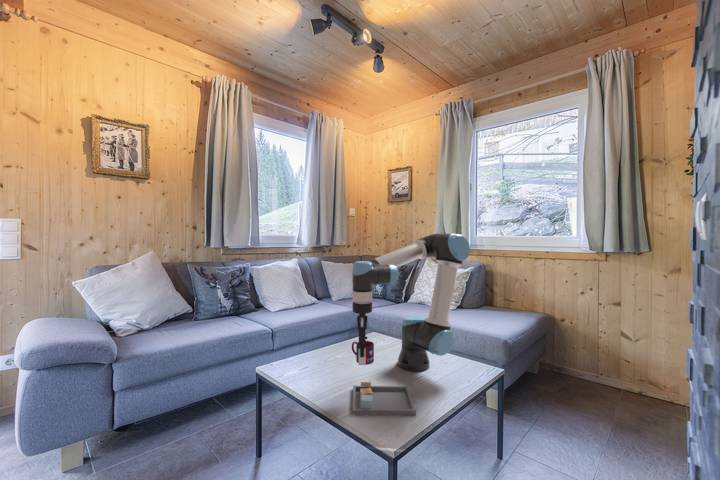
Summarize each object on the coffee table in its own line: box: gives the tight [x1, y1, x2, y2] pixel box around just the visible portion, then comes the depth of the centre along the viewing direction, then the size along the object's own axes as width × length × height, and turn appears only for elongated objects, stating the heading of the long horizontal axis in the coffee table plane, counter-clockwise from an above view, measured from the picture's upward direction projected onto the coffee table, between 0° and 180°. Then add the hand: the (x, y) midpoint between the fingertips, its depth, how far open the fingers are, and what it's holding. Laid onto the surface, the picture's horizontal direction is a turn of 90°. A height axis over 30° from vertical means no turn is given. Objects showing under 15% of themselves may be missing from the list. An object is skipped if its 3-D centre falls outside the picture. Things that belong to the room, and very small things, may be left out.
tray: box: [352, 385, 417, 416], centre depth 123 cm, size 22×18×2 cm
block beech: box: [360, 388, 373, 400], centre depth 123 cm, size 4×4×4 cm
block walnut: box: [360, 381, 372, 389], centre depth 128 cm, size 4×4×4 cm
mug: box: [351, 340, 375, 366], centre depth 127 cm, size 7×10×7 cm
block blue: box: [361, 395, 373, 409], centre depth 118 cm, size 4×4×4 cm
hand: (362, 360), depth 127 cm, fingers closed on mug, 7 cm apart
